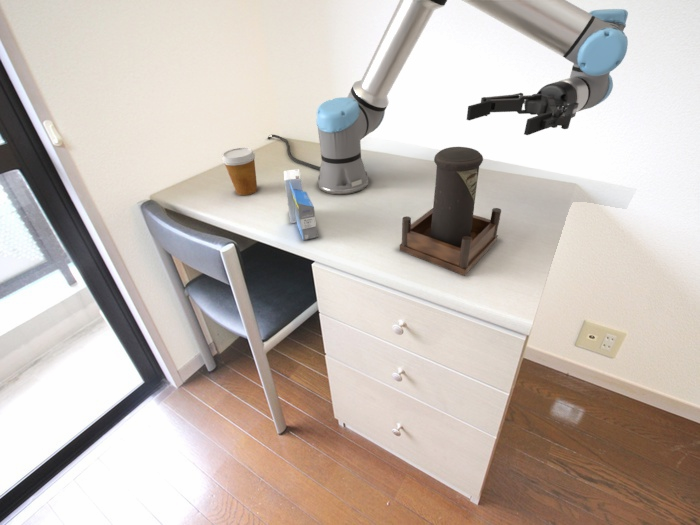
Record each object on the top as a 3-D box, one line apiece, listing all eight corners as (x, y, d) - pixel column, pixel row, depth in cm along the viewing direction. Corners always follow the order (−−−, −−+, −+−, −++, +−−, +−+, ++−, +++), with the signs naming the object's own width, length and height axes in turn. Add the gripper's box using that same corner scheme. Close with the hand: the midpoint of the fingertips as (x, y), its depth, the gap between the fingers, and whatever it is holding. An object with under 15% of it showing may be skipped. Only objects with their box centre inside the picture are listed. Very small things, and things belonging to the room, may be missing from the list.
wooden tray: (399, 250, 82) (399, 219, 77) (435, 221, 91) (437, 191, 86) (464, 276, 73) (469, 242, 69) (497, 241, 82) (503, 209, 78)
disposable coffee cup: (267, 184, 116) (259, 147, 109) (254, 198, 108) (245, 159, 101) (239, 183, 118) (230, 146, 111) (225, 197, 110) (214, 158, 103)
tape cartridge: (318, 237, 88) (312, 190, 81) (302, 241, 88) (294, 193, 80) (311, 220, 95) (304, 175, 88) (296, 223, 95) (288, 178, 87)
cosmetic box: (289, 212, 100) (282, 170, 93) (306, 210, 100) (299, 168, 93) (290, 224, 95) (282, 179, 88) (307, 221, 95) (301, 177, 88)
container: (471, 252, 77) (486, 159, 65) (427, 249, 79) (434, 159, 67) (469, 230, 84) (482, 143, 72) (428, 229, 86) (435, 143, 74)
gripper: (613, 129, 74) (551, 155, 65) (507, 107, 91) (446, 126, 82) (627, 89, 70) (563, 111, 61) (513, 74, 87) (450, 89, 78)
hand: (496, 119), depth 72 cm, fingers open, 13 cm apart
